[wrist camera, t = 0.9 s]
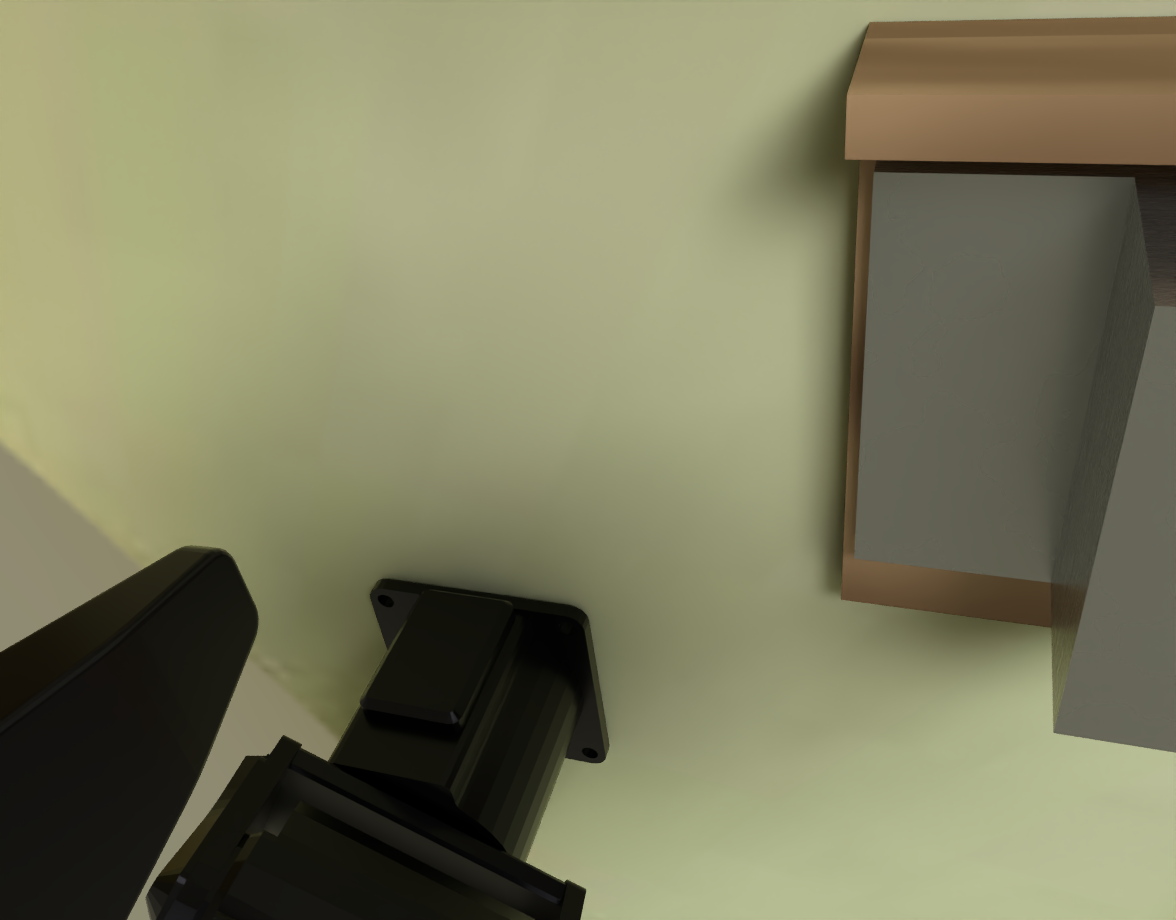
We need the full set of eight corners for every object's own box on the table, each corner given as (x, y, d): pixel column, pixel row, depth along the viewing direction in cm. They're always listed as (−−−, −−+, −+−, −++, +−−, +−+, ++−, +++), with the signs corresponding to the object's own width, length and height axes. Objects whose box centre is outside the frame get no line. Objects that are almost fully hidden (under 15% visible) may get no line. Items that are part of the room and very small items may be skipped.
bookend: (1207, 581, 22) (1238, 762, 19) (857, 539, 25) (830, 697, 21) (1346, 164, 17) (1423, 319, 14) (877, 157, 19) (845, 290, 16)
